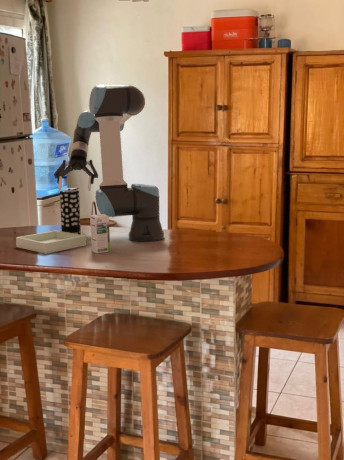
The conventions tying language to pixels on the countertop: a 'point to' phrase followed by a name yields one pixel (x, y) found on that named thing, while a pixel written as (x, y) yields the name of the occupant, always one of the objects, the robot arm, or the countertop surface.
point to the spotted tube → (70, 211)
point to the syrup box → (100, 233)
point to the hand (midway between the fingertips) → (74, 189)
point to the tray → (50, 241)
